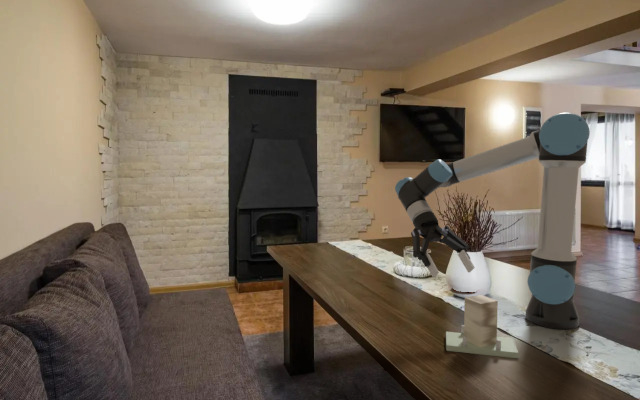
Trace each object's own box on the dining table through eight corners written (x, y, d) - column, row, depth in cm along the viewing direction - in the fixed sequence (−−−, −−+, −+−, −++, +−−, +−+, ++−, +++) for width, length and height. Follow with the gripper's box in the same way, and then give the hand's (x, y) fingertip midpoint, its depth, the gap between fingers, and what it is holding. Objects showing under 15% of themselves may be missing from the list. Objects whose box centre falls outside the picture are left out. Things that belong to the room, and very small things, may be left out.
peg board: (512, 343, 118) (512, 329, 118) (518, 358, 108) (518, 343, 108) (445, 336, 123) (446, 323, 123) (446, 350, 114) (446, 336, 113)
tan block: (480, 335, 120) (480, 294, 119) (496, 343, 114) (497, 300, 113) (463, 339, 117) (464, 297, 116) (479, 347, 112) (480, 303, 111)
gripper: (447, 222, 145) (478, 274, 132) (386, 227, 135) (414, 284, 122) (458, 208, 139) (492, 261, 127) (395, 212, 129) (426, 270, 117)
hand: (454, 272), depth 124 cm, fingers open, 13 cm apart
